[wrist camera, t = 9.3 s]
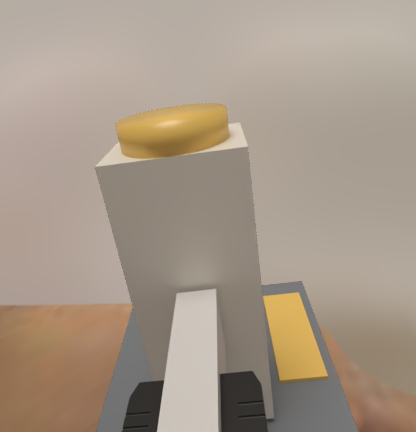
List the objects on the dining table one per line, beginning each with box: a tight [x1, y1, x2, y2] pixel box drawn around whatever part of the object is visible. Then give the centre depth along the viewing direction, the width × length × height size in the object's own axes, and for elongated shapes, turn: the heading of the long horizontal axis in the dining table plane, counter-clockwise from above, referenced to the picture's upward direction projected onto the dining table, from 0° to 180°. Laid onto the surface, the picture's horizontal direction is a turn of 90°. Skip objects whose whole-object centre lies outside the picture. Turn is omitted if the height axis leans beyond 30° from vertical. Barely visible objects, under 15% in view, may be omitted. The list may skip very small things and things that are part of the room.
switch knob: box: [95, 104, 274, 419], centre depth 16 cm, size 4×5×14 cm
